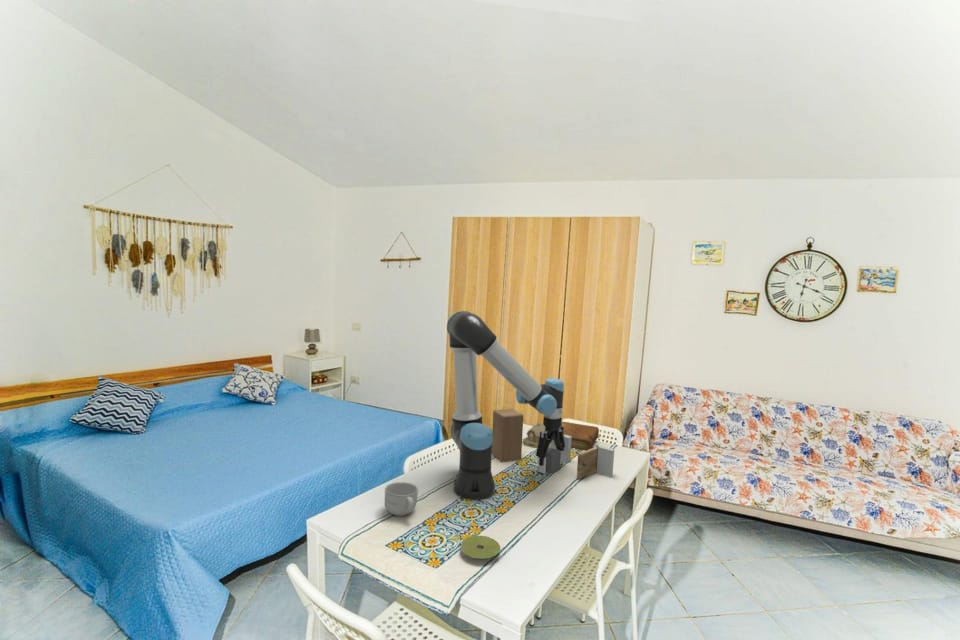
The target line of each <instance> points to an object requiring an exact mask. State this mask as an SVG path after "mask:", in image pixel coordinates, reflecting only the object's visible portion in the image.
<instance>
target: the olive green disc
mask: <svg viewBox="0 0 960 640" xmlns="http://www.w3.org/2000/svg"><path fill="white" fill-rule="evenodd" d="M460 550H461V551H462V553H463V554H464V555H465V556H468V557H470V558H473V559H490V558H491V557H495V556H497V555H498V554H499V553H500V551H501V545H500V544H499V542H498V541H497V540H496V539H494V538H493V537H490V536H486V535H472V536H468V537H466V538H465V539H464V540H462V541H461V543H460Z"/></svg>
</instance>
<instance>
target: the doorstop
mask: <svg viewBox="0 0 960 640" xmlns="http://www.w3.org/2000/svg"><path fill="white" fill-rule="evenodd" d="M545 458H546V471H545V473H549V474H555V473H556V472H558V471H561V466H560V460H561V451H559V450H556V449H553V448H551V446H549V447H548V450H547V453H546V455H545Z"/></svg>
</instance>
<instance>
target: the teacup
mask: <svg viewBox="0 0 960 640" xmlns="http://www.w3.org/2000/svg"><path fill="white" fill-rule="evenodd" d="M418 493H419V487H418V486H417V485H416V484H413V483H412V482H406V481H399V482H398V481H395V482H391V483H389V484H387V485H386V486H385V487H384V507H385V509H386V510H387V511H388V512H389V513H390V514H392V515H393V516H399V517H401V516H407V515H408V514H410V513H412V512H413V511H414V510H415V508H416V506H417V502H418Z"/></svg>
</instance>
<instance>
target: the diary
mask: <svg viewBox="0 0 960 640" xmlns="http://www.w3.org/2000/svg"><path fill="white" fill-rule="evenodd" d="M562 427H564V429H563V434H564V435H568V436H571V437H572V440H571V449H572V448H575V449H574V450H578V449H580V450H579V451H583V450H585V451H586V450H589V449H592V448H594V445H595V443H596V441H597V439H598V438H599V434H600V433H599V432H600V429H599V427H598V426H595V425H594V426H593V425H588V424H581V423H575V422H568V421H562Z"/></svg>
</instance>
